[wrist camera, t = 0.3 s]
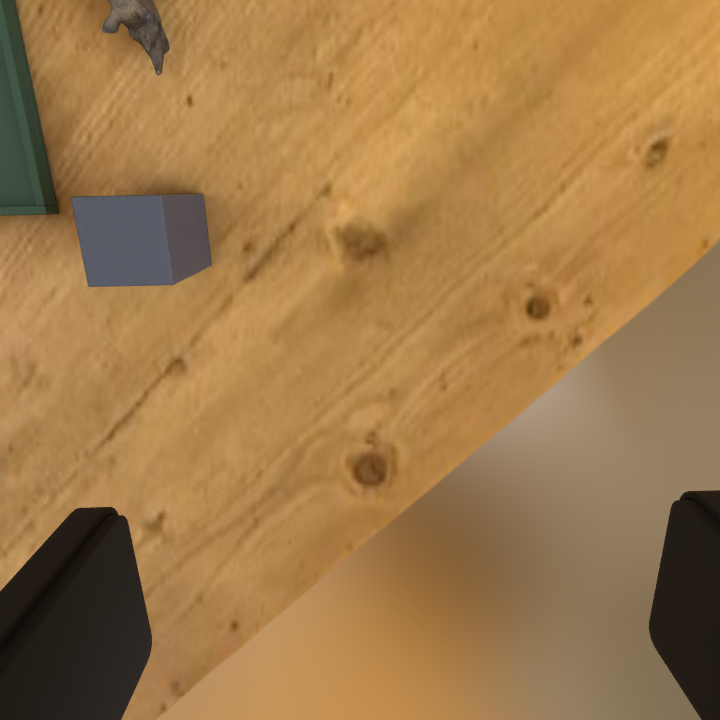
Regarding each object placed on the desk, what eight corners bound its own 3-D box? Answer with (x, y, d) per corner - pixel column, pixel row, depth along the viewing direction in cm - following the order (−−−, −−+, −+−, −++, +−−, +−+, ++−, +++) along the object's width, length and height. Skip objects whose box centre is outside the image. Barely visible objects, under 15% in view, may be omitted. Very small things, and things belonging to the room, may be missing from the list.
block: (132, 195, 35) (70, 196, 28) (203, 193, 35) (160, 194, 28) (143, 267, 37) (87, 287, 29) (211, 265, 37) (173, 285, 29)
